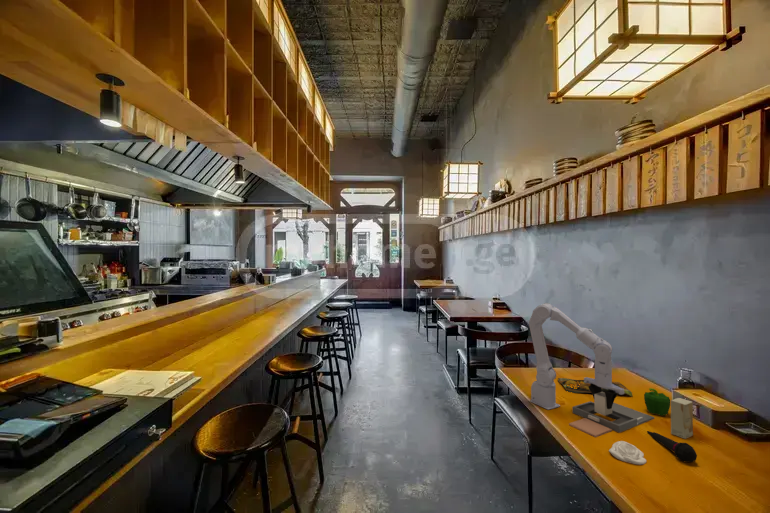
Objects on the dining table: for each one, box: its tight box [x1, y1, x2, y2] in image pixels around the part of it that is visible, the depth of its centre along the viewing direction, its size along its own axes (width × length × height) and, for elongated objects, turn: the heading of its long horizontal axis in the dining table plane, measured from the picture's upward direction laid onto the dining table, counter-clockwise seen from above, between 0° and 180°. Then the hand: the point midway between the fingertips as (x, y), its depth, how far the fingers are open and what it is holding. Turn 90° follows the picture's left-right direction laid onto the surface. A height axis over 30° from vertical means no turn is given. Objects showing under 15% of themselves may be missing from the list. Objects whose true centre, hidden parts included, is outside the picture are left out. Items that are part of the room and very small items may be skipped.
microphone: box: [646, 430, 698, 463], centre depth 112 cm, size 6×6×20 cm
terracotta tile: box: [568, 417, 613, 438], centre depth 126 cm, size 10×10×1 cm
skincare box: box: [670, 397, 694, 440], centre depth 121 cm, size 6×4×12 cm
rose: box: [608, 440, 647, 466], centre depth 107 cm, size 10×4×10 cm
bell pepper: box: [643, 387, 671, 417], centre depth 138 cm, size 8×8×10 cm
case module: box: [593, 392, 612, 417], centre depth 133 cm, size 4×5×7 cm
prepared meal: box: [557, 377, 633, 397], centre depth 165 cm, size 28×4×18 cm
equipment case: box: [571, 400, 655, 434], centre depth 135 cm, size 18×25×2 cm
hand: (603, 406), depth 133 cm, fingers closed on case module, 4 cm apart
